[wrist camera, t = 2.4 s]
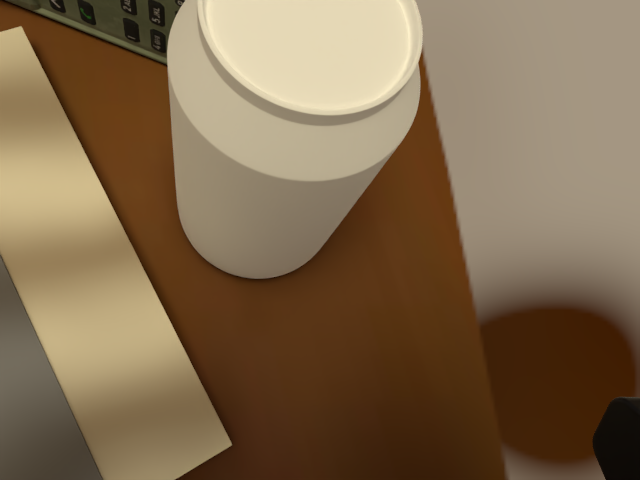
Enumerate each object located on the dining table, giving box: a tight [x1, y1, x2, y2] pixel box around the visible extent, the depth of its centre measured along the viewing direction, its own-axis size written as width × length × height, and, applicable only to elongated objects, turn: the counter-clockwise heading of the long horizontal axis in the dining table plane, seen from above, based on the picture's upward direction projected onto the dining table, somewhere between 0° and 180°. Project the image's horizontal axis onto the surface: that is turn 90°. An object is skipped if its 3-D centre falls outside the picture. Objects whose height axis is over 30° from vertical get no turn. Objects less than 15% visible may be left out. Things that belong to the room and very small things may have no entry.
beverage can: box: [167, 0, 423, 279], centre depth 17 cm, size 6×6×12 cm
